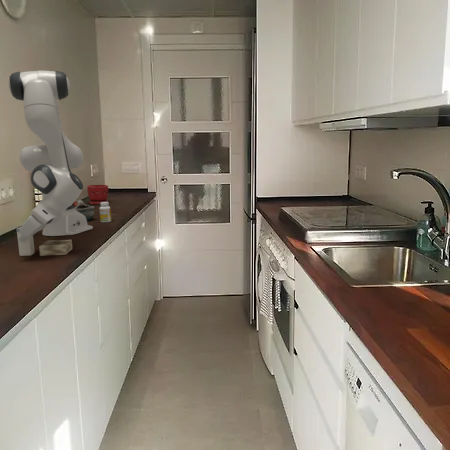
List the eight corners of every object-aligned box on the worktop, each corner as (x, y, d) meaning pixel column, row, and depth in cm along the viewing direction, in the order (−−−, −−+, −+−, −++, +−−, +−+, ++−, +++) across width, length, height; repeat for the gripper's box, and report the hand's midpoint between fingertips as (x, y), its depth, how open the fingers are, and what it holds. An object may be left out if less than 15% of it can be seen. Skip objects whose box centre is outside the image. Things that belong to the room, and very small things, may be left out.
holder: (72, 248, 172) (71, 239, 171) (65, 254, 163) (64, 245, 162) (48, 249, 171) (47, 240, 171) (40, 255, 163) (39, 246, 162)
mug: (81, 222, 226) (79, 203, 224) (69, 220, 234) (67, 201, 232) (98, 220, 233) (97, 200, 231) (85, 217, 241) (84, 199, 239)
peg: (34, 252, 167) (32, 226, 165) (31, 255, 163) (27, 228, 161) (23, 253, 167) (20, 226, 165) (19, 255, 163) (16, 228, 161)
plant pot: (98, 205, 285) (96, 186, 283) (84, 204, 293) (82, 185, 290) (113, 202, 296) (112, 184, 294) (99, 201, 303) (98, 183, 301)
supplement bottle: (107, 220, 232) (105, 201, 230) (113, 221, 228) (112, 202, 227) (98, 221, 228) (96, 202, 226) (104, 222, 224) (103, 203, 222)
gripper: (50, 201, 172) (27, 227, 174) (31, 210, 152) (5, 239, 154) (63, 212, 174) (40, 238, 175) (46, 222, 153) (20, 251, 155)
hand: (23, 239), depth 164 cm, fingers closed on peg, 4 cm apart
